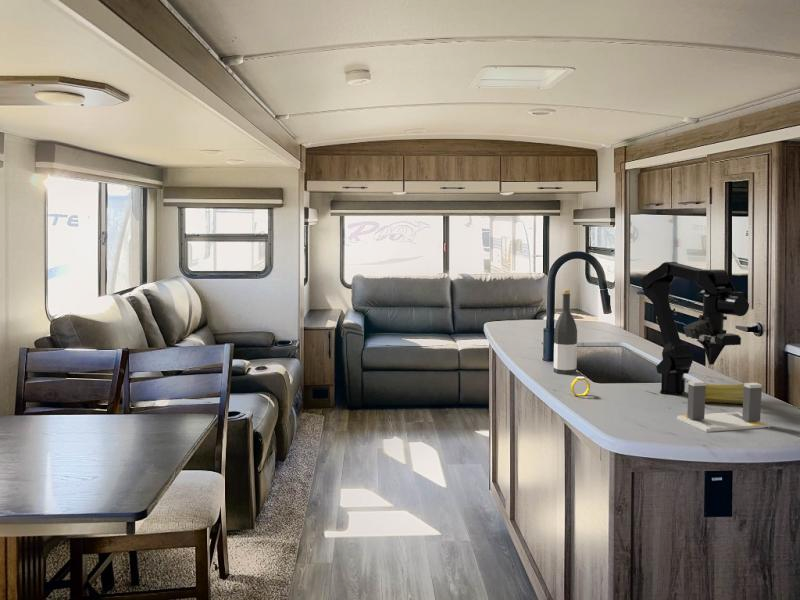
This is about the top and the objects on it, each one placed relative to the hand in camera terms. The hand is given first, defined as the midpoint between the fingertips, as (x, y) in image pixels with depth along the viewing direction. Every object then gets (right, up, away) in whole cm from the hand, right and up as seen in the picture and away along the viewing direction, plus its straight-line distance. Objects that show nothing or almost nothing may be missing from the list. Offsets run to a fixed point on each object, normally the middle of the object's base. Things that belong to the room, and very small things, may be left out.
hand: (711, 364), depth 217 cm
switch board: (-5, -14, -19) cm, 24 cm away
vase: (+11, -9, 0) cm, 14 cm away
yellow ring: (-36, -11, +13) cm, 40 cm away
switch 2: (+2, -13, -21) cm, 25 cm away
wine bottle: (-33, -7, +48) cm, 58 cm away
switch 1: (-12, -13, -18) cm, 25 cm away
